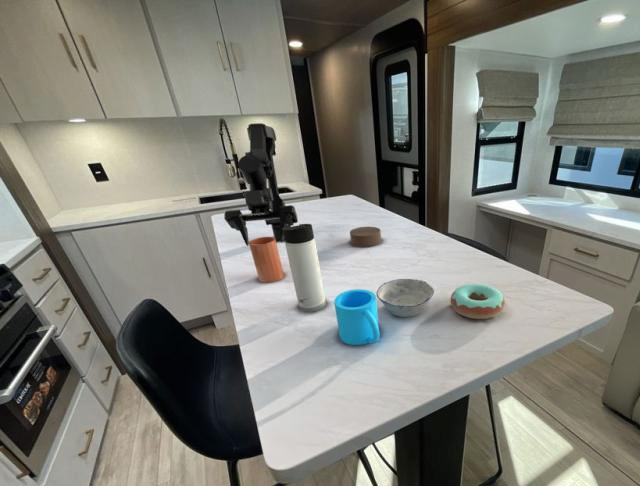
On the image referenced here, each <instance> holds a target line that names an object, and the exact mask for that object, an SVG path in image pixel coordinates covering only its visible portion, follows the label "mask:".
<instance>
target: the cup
mask: <svg viewBox="0 0 640 486" xmlns="http://www.w3.org/2000/svg"><path fill="white" fill-rule="evenodd" d="M248 247H249V249H250V253H251V256H252V261H253V263H254V267H255V271H256V275H257V278H258V280H259V281H260V282H261V283H273V282H277V281H279V280H281V279H283V278H284V276H285V275H284V268H283V265H282V261H281V257H280V253H279V248H278V244H277V241H276V239H275V238H274V236H260V237H256V238H253V239H251V240H249V246H248Z"/></svg>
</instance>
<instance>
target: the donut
mask: <svg viewBox="0 0 640 486" xmlns="http://www.w3.org/2000/svg"><path fill="white" fill-rule="evenodd" d="M450 304H451V307H452V309H453V310H454V311H455V312H456V313H457V314H458V315H461V316H463V317H466V318H469V319H473V320H474V319H475V320H486V319H491V318H494V317H496V316H499V314H501V313H502V311H503V310H504V308H505V304H506V301H505V298H504V296H503V294H502V292H501V291H499V290H498V289H496V288H495V287H493V286H489V285H487V284H480V283H469V284H464V285H460V286H459V287H457V288H455V289H454V291H453V292H452V294H451V296H450Z"/></svg>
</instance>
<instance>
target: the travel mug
mask: <svg viewBox="0 0 640 486" xmlns="http://www.w3.org/2000/svg"><path fill="white" fill-rule="evenodd" d="M282 231H283V235H284V245H285V250H286V254H287V260H288V264H289V268H290V273H291V277H292V281H293V285H294V291H295V295H296V300H297V304H298V308H299V309H300V310H301V311H302V312H307V313H310V312H311V313H313V312H316V311H319V310H322V309H323V308H324V307H325V306H326V298H325V291H324V284H323V279H322V274H321V273H322V272H321V268H320V263H319V257H318V256H319V255H318V251H317V244H316V240H315V236H314V229H313V225H312V223H301V224H300V223H299V224H298V225H293V226H288V227H284V228H282Z"/></svg>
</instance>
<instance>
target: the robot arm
mask: <svg viewBox="0 0 640 486" xmlns="http://www.w3.org/2000/svg"><path fill="white" fill-rule="evenodd" d="M246 132H247V136H248V141H249V152H248V151H247V152H244V156H242V157H241V158H240V159H239V160H238V162H237V165H238V168H239V171H240V172H241V175H242V176H243V178H244V180H245V182H246V184H248V185H249V190H246V191H244V193H243V195H244V201H245V205H247V209H248V211H249V212H251V213H243V212H242V211H241V210H240V209H230V210H226V211H225V212H224V213H223V215H224V216H223V217H224V221H225V222H226V223H227V225H229V227H230V228H231V229H233V230H234V229H235V230H236V231H237V232H238V231H239V232H240V234H241V236H242V239H243V241H244V243H245V245H246V247H250V246H249V241H250V239H249V231H248V227H247V222H254V221H255V222H256V221H264V222H265V225H266V226H271V229H272V234H273V237H274V238H275V239H276V242H280V243H283V242H285V240H284V235H283V231H282V228H284V227H288V226H291V227H292V226H295V224H297V223H298V222H299V219H298V214H297V211H296V207H295V206H294V205H292V204H289V205H286V203H285V201H284V200H283V199H282V197H281V196H280V192H279V187H278V180H277V175H276V174H277V173H276V169H275V163H274V157H273V154H274V153H275V150H276V142H277V136H276V131H275V129H274V128H273V127H272V126H269V125H266V124H265V123H263V122H258V123H257V122H256V123H250V124H248V127H247V128H246Z"/></svg>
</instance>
